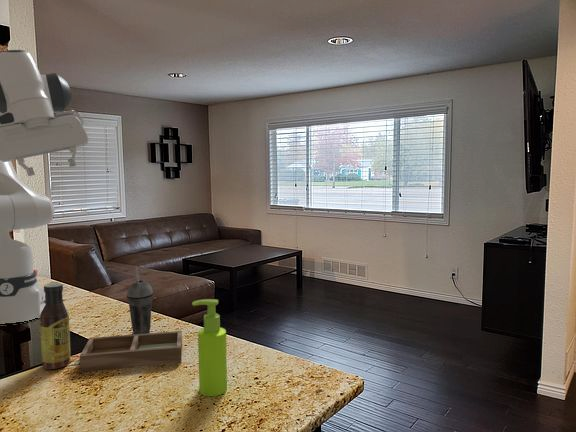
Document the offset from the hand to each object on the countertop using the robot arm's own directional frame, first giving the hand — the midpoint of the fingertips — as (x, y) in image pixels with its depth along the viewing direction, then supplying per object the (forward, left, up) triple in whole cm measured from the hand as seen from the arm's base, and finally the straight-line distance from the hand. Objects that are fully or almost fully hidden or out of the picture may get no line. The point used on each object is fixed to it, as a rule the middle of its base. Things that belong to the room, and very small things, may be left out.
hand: (52, 170), depth 109 cm
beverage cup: (-9, +18, -47) cm, 51 cm away
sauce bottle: (+7, 0, -47) cm, 48 cm away
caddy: (+7, +18, -47) cm, 51 cm away
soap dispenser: (+27, +36, -47) cm, 65 cm away
